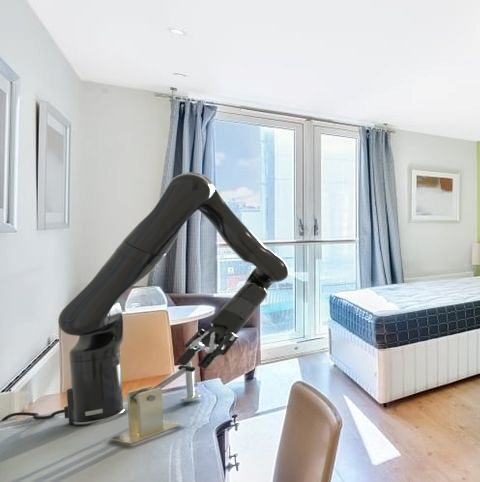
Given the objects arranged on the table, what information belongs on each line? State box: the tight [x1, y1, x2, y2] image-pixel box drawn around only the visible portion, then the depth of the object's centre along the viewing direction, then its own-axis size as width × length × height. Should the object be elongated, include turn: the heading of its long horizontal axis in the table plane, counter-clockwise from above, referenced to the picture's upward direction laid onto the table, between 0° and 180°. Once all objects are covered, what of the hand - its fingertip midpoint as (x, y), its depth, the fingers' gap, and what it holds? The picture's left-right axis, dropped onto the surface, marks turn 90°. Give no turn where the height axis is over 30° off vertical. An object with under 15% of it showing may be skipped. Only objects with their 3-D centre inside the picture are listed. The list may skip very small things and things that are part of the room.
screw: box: [179, 360, 202, 404], centre depth 127 cm, size 13×5×5 cm
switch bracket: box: [110, 385, 182, 445], centre depth 108 cm, size 10×8×12 cm
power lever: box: [133, 364, 196, 402], centre depth 111 cm, size 12×5×2 cm, turn 161°
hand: (190, 365), depth 117 cm, fingers open, 8 cm apart
